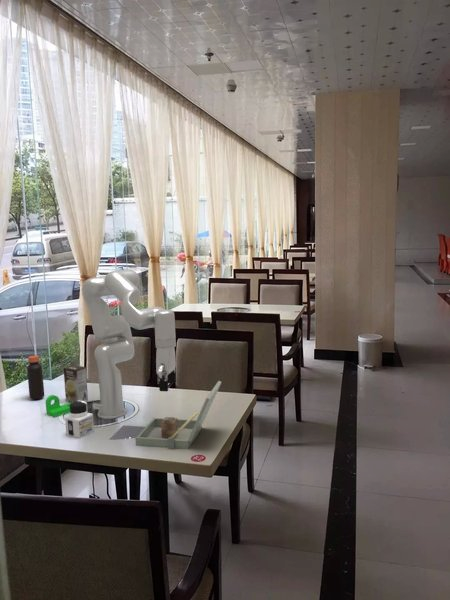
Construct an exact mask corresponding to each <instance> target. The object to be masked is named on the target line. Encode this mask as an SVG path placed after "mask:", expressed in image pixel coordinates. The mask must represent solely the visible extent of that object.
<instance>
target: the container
mask: <svg viewBox="0 0 450 600" xmlns="http://www.w3.org/2000/svg"><path fill="white" fill-rule="evenodd" d="M70 403H71V404H70V412H69V414H68V415H66V416H65V417H64V420H65V431H66V432H65V434H66V436H69V435H70V437H72V436H74V438H76V437H77V439H82V438H84V437H86V436H89V435H91V434H92V433H94V432H95V425H94V423H95V422H94V414H93V413H90V412H88V403H87V402H86V401H74V402H70ZM81 437H82V438H81Z"/></svg>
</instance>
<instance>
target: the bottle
mask: <svg viewBox="0 0 450 600" xmlns="http://www.w3.org/2000/svg"><path fill="white" fill-rule="evenodd" d="M27 358H28V359H27V360H28V366H27V368H26V373H27V382H28V383H27V384H28V395H29V398H30V399H31V400H40V399H43V398H44V397H45V386H44V384H45V383H44V376H43V375H44V374H43V366H42V364H40V356H39V355H29V356H28V357H27Z"/></svg>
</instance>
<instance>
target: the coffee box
mask: <svg viewBox="0 0 450 600" xmlns="http://www.w3.org/2000/svg"><path fill="white" fill-rule="evenodd" d="M87 378H88V377H87V367H85V366H81V365H77V364H71V365H68V366H66V367H63V380H64V381H63V382H64V392H65V395H64V396H65V401H67V402H69V403H72V402H74V401H85V402H86V401H89V394H88V393H89V392H88V391H89V389H88V379H87Z"/></svg>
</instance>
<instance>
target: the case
mask: <svg viewBox="0 0 450 600" xmlns="http://www.w3.org/2000/svg"><path fill="white" fill-rule="evenodd" d="M221 385H222V381H220V380H218V381H217V382H216V384H215V385H214V386H213V388H212V389H211V391H210V392H209V393H208V395H207V397H206V398H205V400H204V402H203V405H202V407H201V410H200V411H199V413H198V411H196V412H195V413H193V415H192V416H191V417H189V418H188V419H186V418H185V419H183V418H178V431H177V432H175V433H174V434H173V435H172V436H171V437H169V438H168V439H163V438H162V437H161V438H160V437H158V438H157V437H148V436H149V435H150V434H151V433H152V431H153V430H154V429H155V428H161V422H162V421H163V419H164V418H165V417H164V418H162V417H153V418H152V419H151V420H150V421H149V422H148V424H146V425H145V426H144V427H145V428H144V429H143V430H142V431H141V432H140V434H139V435H138V436H137V437H136V438H134V439H135V446H137V447H138V446H139V447H155V448H159V447H160V448H168V450H174V449H189V448H190V447H191V445H192V444H193V442H194V441H195V439H196V438H197V436H198V434H199V433H200V432H201V430H202V429H203V424H204V422H205V420H206V418H207V415H208V413H209V411H210V409H211V407H212V404H213V402H214V400H215V398H216V395H217V394H218V391H219V389H220V387H221ZM197 415H198V416H197ZM196 416H197V418H196V419H194V418H195V417H196ZM183 429H192V430H191V431H190V433H189V435H188V436H187V437H186V439H178V438H177V439H176V438H175V439H174V437H175V436H176V435H177V434H178V435H179V432H181V431H182V430H183ZM178 435H177V436H178Z"/></svg>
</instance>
